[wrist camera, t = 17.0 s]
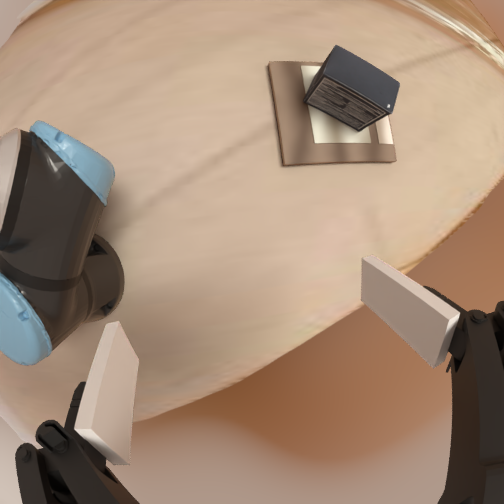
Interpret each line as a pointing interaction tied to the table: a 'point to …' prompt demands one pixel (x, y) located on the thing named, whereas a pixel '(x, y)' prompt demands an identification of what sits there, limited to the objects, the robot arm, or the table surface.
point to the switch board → (320, 124)
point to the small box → (352, 90)
